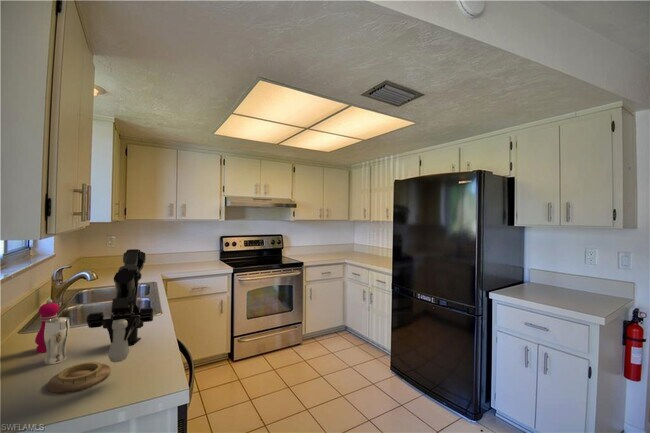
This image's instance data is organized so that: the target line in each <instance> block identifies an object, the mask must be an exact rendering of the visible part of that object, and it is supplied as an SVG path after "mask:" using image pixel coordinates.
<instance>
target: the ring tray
mask: <svg viewBox="0 0 650 433" xmlns="http://www.w3.org/2000/svg"><path fill="white" fill-rule="evenodd" d="M110 375H111V366H110V365H108V364H104V363H101V362H97V361H87V362H80V363H77V364H74V365H71V366H68V367H65V368H64V369H63V370H61V371H60V372H59V373H57V374H55V375H54V376H52V377H51V378H50V379H49V380H48V381H47V386H46V387H47V388H46V389H47V391H48V392H50V393H52V394H59V395H60V394H61V395H62V394H70V393H75V392H80V391H83V390H86V389H87V390H88V389H89V388H92V387H94V386H97V385H98V384H100V383H102V382H104V381H105V380H106V379H107V378H109V376H110Z"/></svg>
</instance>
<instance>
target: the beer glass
mask: <svg viewBox="0 0 650 433" xmlns="http://www.w3.org/2000/svg"><path fill="white" fill-rule="evenodd" d="M70 324H71V323H70V317H66V316H61V317H60V316H59V317H57V318H54V319H50V320H47V321H46V324H45V330H44V340H45V345H46V352H45V353H46V356H45V358H44V364H45V365H55V364H58V363H63V362H64V361H65V360H67V359H68V356H67V350H66V349H67V344H68V340H69V337H70V331H71V330H70V329H71V328H70Z"/></svg>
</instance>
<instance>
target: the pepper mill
mask: <svg viewBox="0 0 650 433" xmlns="http://www.w3.org/2000/svg"><path fill="white" fill-rule="evenodd" d="M59 311H60V305H58V304H57V303H55V302H53V300H52V299H51V298H49V299H47V300H46V303H44V304H42V305H41V306H40V307H39V308H38V314H39V315H40V316H39V317H40V319H39V321H41V325H40V329H39V330H38V332H37V334H36V336H35V340H34V343H35V344H36V345H37V346H36V353H40V354H43V353H47V352H46V345H45V340H44V330H45V324H46V321H47V320H50V319H54V318H58V314H57V313H58V312H59Z"/></svg>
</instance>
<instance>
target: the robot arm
mask: <svg viewBox="0 0 650 433" xmlns="http://www.w3.org/2000/svg"><path fill="white" fill-rule="evenodd" d="M146 259H147V255H146V252H144V251H142V250H141V249H136V248H135V249H133V248H131V249H126V251H125V252H124V253H123V255H122V262H123V265H122V266H120V267H119V269H118V271H117V272H116V273H115V274H114V276H113V283H114V287H115V290H116V294H115V298H112V301H111V313H110V314H104V312H103V311H100V312H89V314H88V315H87V317H86V324H87V326H88V328H89V329H92V328H93V329H94V328H101V327H102V329H104V330H105V329H106V330H107V332H108V336H109V341H110V344H111V343H112V340H113V332H114V329H112V323H113V322H114V321H117V320H126V321H127V323H128V324H127V327H126V328H125V330H126V333H125V338H124V341H126V340H127V341H128V346H132V345H133V346H134V345H135V344H137V343H138V342H139V341H140V340H141V339H142V338H141V337H138V333H139V332H138V331H139V329H142V328H143V327H144V323H149V322H153V321H154V308H153V307H142V308H139V306H138V294H139V293H138V292H139V290H138V289H139V281H140V280H141V278H143V277H142V273H141V271H142V270H143V268H144V264H145V263H146Z"/></svg>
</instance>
